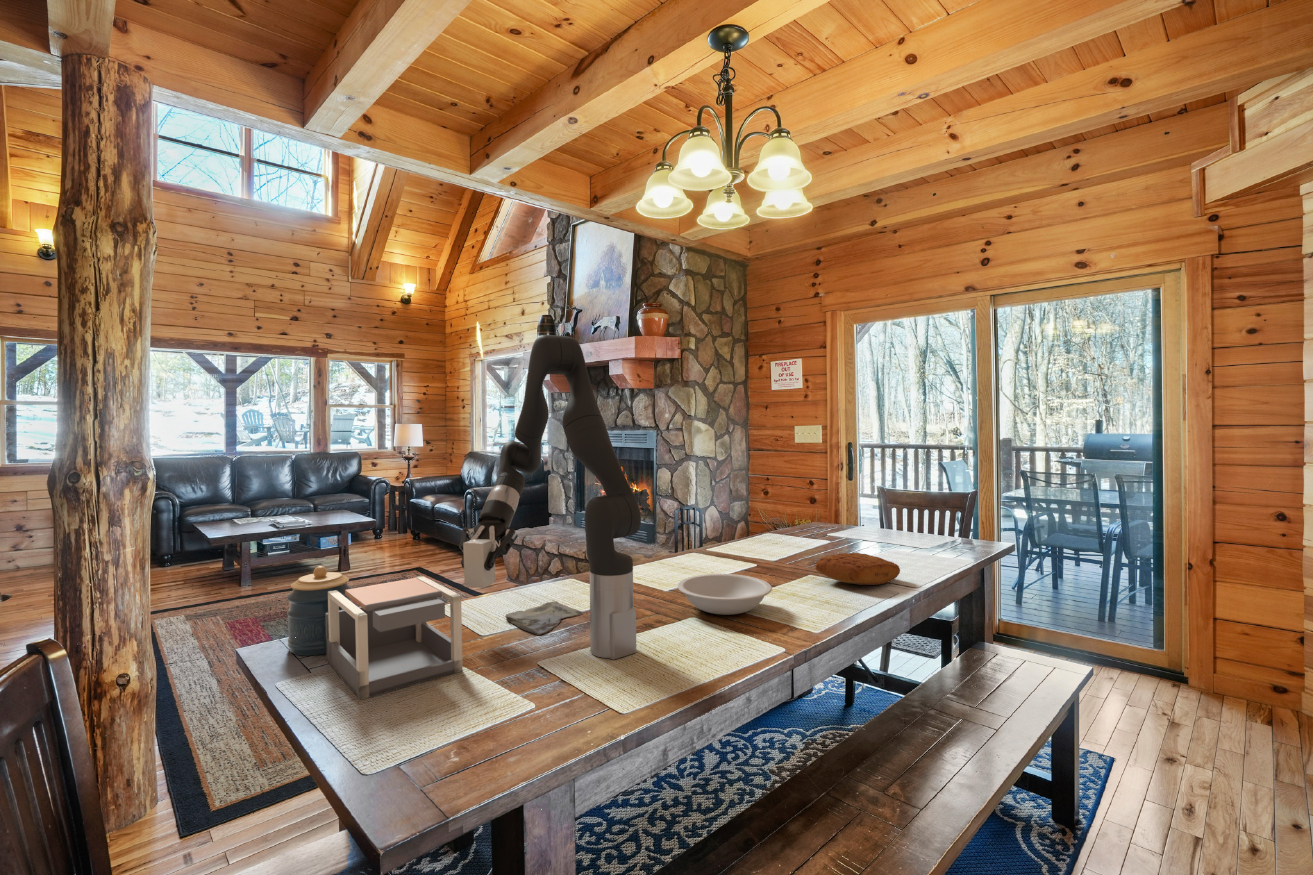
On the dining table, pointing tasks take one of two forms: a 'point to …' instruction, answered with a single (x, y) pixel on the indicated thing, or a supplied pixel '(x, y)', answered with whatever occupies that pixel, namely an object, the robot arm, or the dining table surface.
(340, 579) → the canister
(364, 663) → the frame
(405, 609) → the trapdoor
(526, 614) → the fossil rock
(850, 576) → the bread loaf
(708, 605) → the soup bowl
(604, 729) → the dining table surface
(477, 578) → the beige rectangular block
